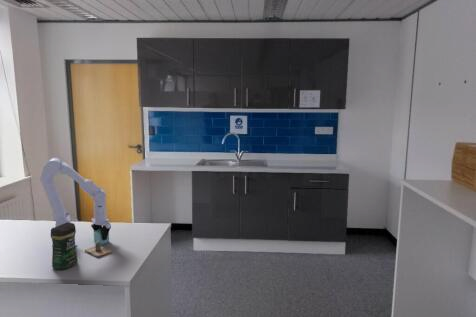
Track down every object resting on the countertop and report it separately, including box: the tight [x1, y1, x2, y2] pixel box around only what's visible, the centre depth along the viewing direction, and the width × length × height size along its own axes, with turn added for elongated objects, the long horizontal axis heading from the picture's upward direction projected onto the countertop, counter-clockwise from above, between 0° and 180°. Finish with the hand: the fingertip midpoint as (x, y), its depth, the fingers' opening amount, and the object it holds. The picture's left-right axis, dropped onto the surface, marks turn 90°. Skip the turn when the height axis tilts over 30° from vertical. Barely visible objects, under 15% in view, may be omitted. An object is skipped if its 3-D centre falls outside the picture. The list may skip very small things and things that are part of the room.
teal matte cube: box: [93, 229, 110, 246], centre depth 167 cm, size 5×5×6 cm
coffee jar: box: [50, 222, 78, 271], centre depth 141 cm, size 10×8×19 cm
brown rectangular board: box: [84, 242, 112, 259], centre depth 155 cm, size 11×7×5 cm, turn 54°
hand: (101, 238), depth 167 cm, fingers closed on teal matte cube, 5 cm apart
